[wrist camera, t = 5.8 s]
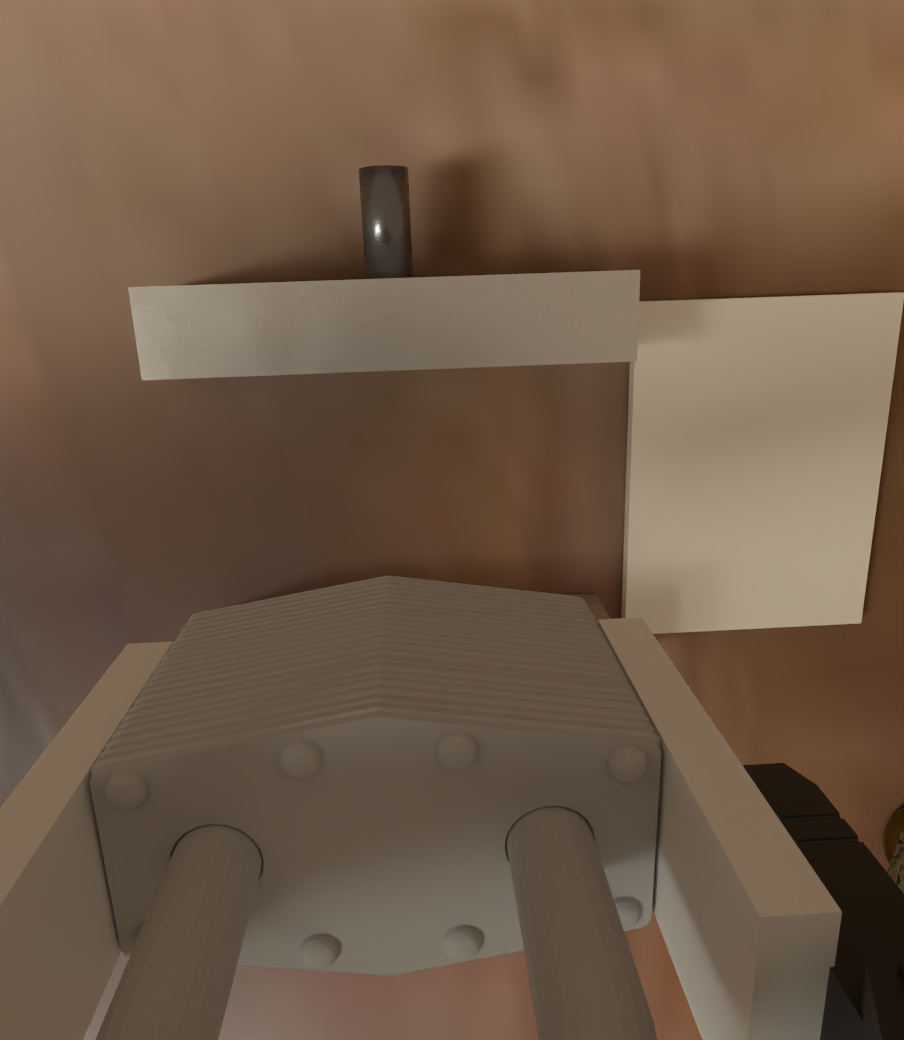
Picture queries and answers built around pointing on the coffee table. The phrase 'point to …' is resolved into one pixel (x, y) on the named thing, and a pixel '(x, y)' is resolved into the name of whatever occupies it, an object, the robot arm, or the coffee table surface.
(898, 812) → the cup
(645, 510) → the pad
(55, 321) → the coffee table surface
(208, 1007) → the padlock
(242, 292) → the vise
